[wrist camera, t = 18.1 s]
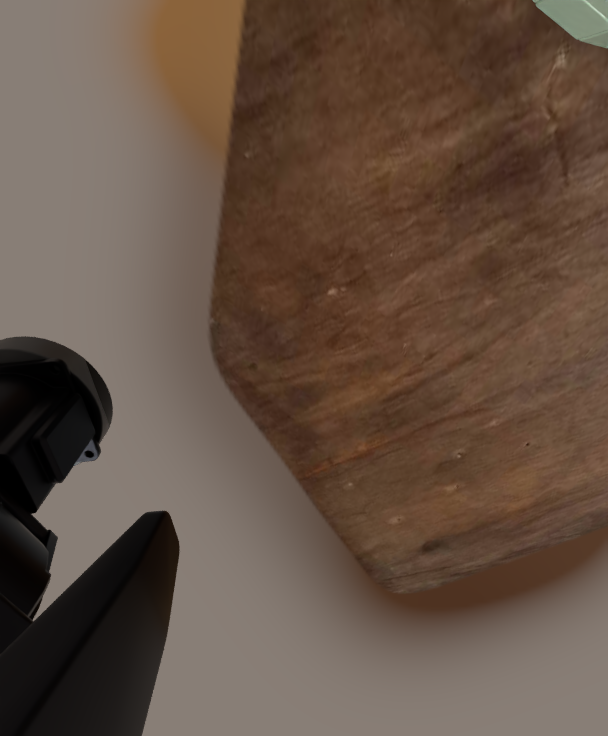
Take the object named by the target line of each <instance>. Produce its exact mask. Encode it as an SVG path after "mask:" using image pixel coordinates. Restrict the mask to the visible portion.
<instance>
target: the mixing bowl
mask: <svg viewBox="0 0 608 736" xmlns="http://www.w3.org/2000/svg"><path fill="white" fill-rule="evenodd" d="M533 2H534V3H536V4H535V5H536V6H537V7H538V8H539V9H540V10H542V11H543V12H544V13H545V14H546V15H548V16H549V17H550V18H551V19H552V20H554V21H555V22H556V23H557V24H558V25H560V26H561V27H562V28H563V29H565V30H566V31H567V32H568V33H569V34H571V35H572V36H573V37H574V38H575V39H577V40H580V41H582V42H586V43H589V44H593V45H597V46H600V47H604V48H608V0H533Z"/></svg>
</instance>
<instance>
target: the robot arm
mask: <svg viewBox="0 0 608 736" xmlns="http://www.w3.org/2000/svg"><path fill="white" fill-rule="evenodd" d="M54 366H57V367H58V368H59V369H60V371H58V370H56V369H55V368H54ZM89 451H92V452H93V453H90V452H89ZM100 453H101V449H100V446H99V444H98V441H97V439H96V436H95V429H94V426H93V424H92V421H91V419H90V416H89V414H88V411H87V409H86V406H85V403H84V401H83V398H82V396H81V395H80V394H79V393H78V390H77V388H76V385H75V383H74V380H73V377H72V375H71V372H70V370H69V367H68V365H67V363H66V362H65V361H64V360H62V359H60V358H50V359H41V360H31V361H21V362H11V363H1V364H0V736H142V733H143V729H144V724H145V721H146V717H147V713H148V709H149V705H150V701H151V697H152V693H153V690H154V685H155V682H156V678H157V674H158V670H159V666H160V662H161V658H162V654H163V650H164V646H165V642H166V637H167V632H168V626H169V620H170V613H171V607H172V600H173V592H174V586H175V579H176V572H177V566H178V559H179V541H178V537H177V535H176V532H175V528H174V525H173V522H172V519H171V516H170V515H169V513H168V512H167V511H154V512H147V513H145V514H143V515H142V516H141V517H140V518H139V519H138V520H137V521H136V522H135V523H134V524H133V525H132V526H131V527H130V528H129V529H128V530H127V531H126V532H125V533H124V534H123V535H122V536H121V537H120V538H119V539H118V540H117V541H116V542H115V543H113V544H112V546H110V547H109V548H108V549H107V550H106V551H105V552H104V553H103V554H102V555H101V556H100V557H99V558H98V559H97V560H96V561H95V562H94V563H93V564H92V565H91V566H90V567H89V568H88V569H87V570H86V571H85V572H84V573H83V574H82V575H81V576H80V577H79V578H78V579H77V580H76V581H75V582H74V583H73V584H72V585H71V586H70V587H69V588H67V589H66V591H64V592H63V594H61V596H59V597H58V598H57V599H56V600H55V601H54V602H53V603H52V604H51V605H50V606H49V607H48V608H47V609H46V610H45V611H44V612H43V613H42V614H41V615H40V616H39V617H38V618H37V619H36V620H35V621H34V622H33V618H34V616H35V614H36V612H37V611H38V609H39V606H40V604H41V601H42V597H43V595H44V593H45V591H46V588H47V586H48V584H49V581H50V577H51V574H50V573H49V570H50V566H51V562H52V558H53V554H54V551H55V546H56V542H57V539H58V537H57V536H56V535H55V534H54V533H53V532H52V531H51V530H47V529H46V528H45V527H43V526H42V524H41V523H39V521H38V520H37V519H36V518H35V517H33V515H31V514H32V513H36V512H37V510H38V509H39V507H40V506H41V504H42V503H43V501H44V500H45V499H46V497H47V496H48V494H49V493H50V491H51V489H52V488H53V487H54V485H55V484H56V483H62V482H63V481H64V479H65V478H66V476H67V475H68V473H69V472H70V470H71V469H72V467H73V466H74V464H75V463H76V462H85V461H94V460H96V459H97V458H98V457H99V455H100Z"/></svg>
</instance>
